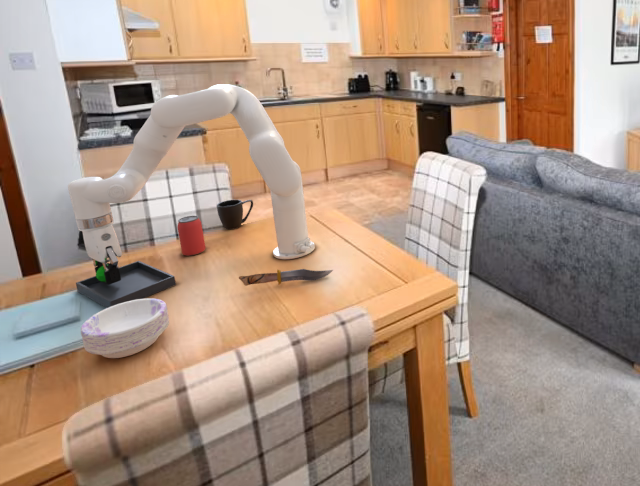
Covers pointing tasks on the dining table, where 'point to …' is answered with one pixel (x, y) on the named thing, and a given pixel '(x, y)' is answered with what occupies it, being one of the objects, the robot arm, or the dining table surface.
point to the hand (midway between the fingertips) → (109, 279)
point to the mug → (232, 213)
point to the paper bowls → (125, 328)
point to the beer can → (191, 235)
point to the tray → (127, 285)
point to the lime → (101, 274)
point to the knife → (284, 276)
